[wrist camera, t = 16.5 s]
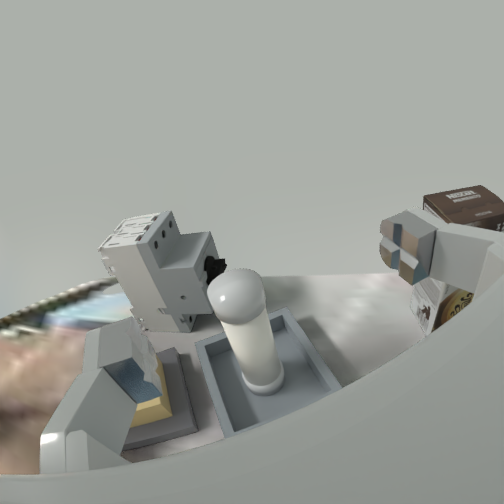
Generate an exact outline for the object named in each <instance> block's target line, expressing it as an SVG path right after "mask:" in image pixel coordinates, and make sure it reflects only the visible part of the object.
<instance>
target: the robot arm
mask: <svg viewBox="0 0 504 504" xmlns="http://www.w3.org/2000/svg"><path fill="white" fill-rule="evenodd" d="M380 233H381V234H382V235H383V238H382V240H381V242H380V254H381V257H382V259H383V261H384V262H385V264H386V265H387V266H389V267H390V268H392V269H396V270H398V272H399V276H401V277H402V278H403V279H404V280H406V281H407V282H408V283H409V284H410V285H414V284H416V283H418V282H419V281H421V280H423V279H425V278H427V277H428V276H429V278H432V279H435V280H438V281H441V282H444V283H446V284H449V285H452V286H455V287H457V288H460V289H463V290H466V291H468V292H471V293H474V297H473V299H472V302H471V303H470V304H469V305H467V306H466V307H465V308H464V309H462V310H461V311H460V312H459V313H457V314H456V315H455V316H454V317H452V318H451V319H450V320H448V321H447V322H446V323H444V324H443V325H442V326H440V327H439V328H438V329H436V330H435V331H433V332H432V333H431V334H429V335H428V336H426V337H425V338H424V339H422V340H421V341H419V342H418V343H416V344H415V345H413V346H412V347H410V348H409V349H407V350H406V351H404V352H403V353H401V354H400V355H398V356H397V357H395V358H393V359H392V360H390V361H389V362H387V363H385V364H384V365H382V366H381V367H379V368H377V369H376V370H374V371H372V372H370V373H369V374H367V375H365V376H364V377H362V378H360V379H358V380H356V381H355V382H353V383H351V384H349V385H347V386H345V387H344V388H342V389H340V390H338V391H336V392H334V393H332V394H330V395H328V396H326V397H324V398H322V399H320V400H318V401H316V402H314V403H312V404H310V405H308V406H306V407H303V408H301V409H299V410H297V411H295V412H292V413H290V414H288V415H286V416H283V417H281V418H279V419H276V420H274V421H271V422H269V423H266V424H264V425H261V426H259V427H256V428H254V429H251V430H248V431H246V432H243V433H240V434H237V435H235V436H232V437H229V438H226V439H223V440H220V441H217V442H214V443H211V444H208V445H204V446H201V447H198V448H194V449H191V450H187V451H184V452H180V453H176V454H172V455H168V456H164V457H160V458H156V459H151V460H147V461H142V462H137V463H131V462H129V461H127V460H126V459H124V458H123V457H121V456H120V454H121V451H122V448H123V445H124V442H125V439H126V437H127V434H128V431H129V428H130V425H131V423H132V420H133V417H134V414H135V412H136V409H137V406H138V405H137V404H139V403H142V402H145V401H148V400H151V399H154V398H157V397H160V396H163V393H162V387H161V381H160V377H159V376H158V374H157V373H156V372H155V370H156V369H157V367H158V363H157V358H156V355H155V352H154V349H153V347H152V345H151V343H150V341H149V339H148V338H147V336H144V335H142V334H141V331H140V325H139V324H138V322H137V321H136V319H135V318H133V317H129V318H126V319H123V320H120V321H117V322H114V323H111V324H108V325H105V326H102V327H99V328H97V329H94V330H91V331H88V332H87V334H86V338H85V347H84V357H83V369H82V374H79V375H78V376H77V377H76V379H75V380H74V382H73V383H72V385H71V386H70V388H69V390H68V391H67V393H66V394H65V396H64V398H63V399H62V401H61V402H60V404H59V406H58V407H57V409H56V410H55V412H54V414H53V415H52V417H51V419H50V420H49V422H48V424H47V425H46V427H45V429H44V430H43V432H42V434H41V438H40V474H23V475H21V474H0V504H504V233H503V232H498V231H493V230H488V229H483V228H477V227H472V226H466V225H461V224H455V223H449V224H447V223H446V222H444V221H442V220H440V219H439V218H437V217H435V216H433V215H432V214H430V213H428V212H426V211H424V210H422V209H421V208H419V207H412V208H410V209H407V210H405V211H403V212H402V213H399V214H397V215H395V216H392V217H390V218H387V219H385V220H383V221H382V223H381V225H380Z"/></svg>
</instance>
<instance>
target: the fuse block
mask: <svg viewBox="0 0 504 504" xmlns="http://www.w3.org/2000/svg"><path fill="white" fill-rule="evenodd" d="M155 355H156V358H157V363H158V367H157V369H156V370H155V372H156V373H157V374H158V376H159V377H160V381H161V387H162V393H163V396H160V397H157V398H154V399H151V400H148V401H145V402H142V403H139V404H137V405H138V406H137V409H136V412H135V414H134V417H133V420H132V423H131V425H130V428H129V431H128V434H127V437H126V439H125V442H124V445H123V448H122V451H125V450H129V449H134V448H139V447H143V446H147V445H151V444H155V443H159V442H163V441H167V440H170V439H174V438H177V437H181V436H184V435H188V434H191V433H194V432H197V431H198V428H197V425H196V421H195V418H194V414H193V410H192V407H191V403H190V399H189V395H188V391H187V387H186V383H185V379H184V375H183V371H182V367H181V363H180V358H179V354H178V352H177V351H176V349H175V348H174V347H173V348H170V349H168V350H165V351H162V352H159V353H156V354H155Z"/></svg>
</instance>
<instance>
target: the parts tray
mask: <svg viewBox="0 0 504 504" xmlns="http://www.w3.org/2000/svg"><path fill="white" fill-rule="evenodd" d="M268 317H269V321H270V325H271V329H272V333H273V337H274V341H275V345H276V349H277V353H278V357H279V359H280V361H281V362H282V365H283V369H284V373H285V383H284V385H283V387H282V388H281V389H280V390H279V391H278V392H277V393H275V394H273V395H270V396H257V395H255V394H253V393H251V392H250V391H249V389H248V388H247V386H246V384H245V381H244V379H243V377H242V370H241V368H240V365H239V363H238V361H237V359H236V356H235V354H234V352H233V349H232V347H231V345H230V342H229V340H228V338H227V335H226V333H225V332H222V333H220V334H217V335H215V336H212V337H209V338H207V339H204V340H201V341H199V342H196V343H195V346H196V349H197V353H198V356H199V360H200V363H201V366H202V370H203V373H204V376H205V379H206V383H207V386H208V389H209V392H210V395H211V398H212V402H213V405H214V408H215V411H216V414H217V417H218V419H219V422H220V425H221V428H222V431H223V434H224V437H225V439H226V438H229V437H232V436H235V435H237V434H240V433H243V432H246V431H248V430H251V429H254V428H256V427H259V426H261V425H264V424H266V423H269V422H271V421H274V420H276V419H279V418H281V417H283V416H286V415H288V414H290V413H292V412H295V411H297V410H299V409H301V408H303V407H306V406H308V405H310V404H312V403H314V402H316V401H318V400H320V399H322V398H324V397H326V396H328V395H330V394H332V393H334V392H336V391H338V390H340V389H342V386H341V385H340V384H339V382H338V381H337V379H336V378H335V376H334V375H333V373H332V372H331V370H330V369H329V368H328V366H327V365H326V363H325V362H324V360H323V359H322V357H321V356H320V355H319V353H318V352H317V350H316V349H315V347H314V346H313V344H312V343H311V341H310V340H309V339H308V337H307V336H306V334H305V333H304V331H303V330H302V328H301V327H300V325H299V324H298V323H297V321H296V320H295V318H294V317H293V315H292V314H291V312H290V311H289V309H288V308H287V306H286V307H284V308H282V309H279V310H277V311H274V312H272V313H270V314H268Z"/></svg>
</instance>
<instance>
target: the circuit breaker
mask: <svg viewBox="0 0 504 504" xmlns="http://www.w3.org/2000/svg"><path fill="white" fill-rule="evenodd" d="M113 232H114V234H111V235H109V236H108V238H107V239H106V240H105V241H104V242H103V243H102V244H101V246H100V247H99V248H98V251H101V254H102V256H103V258H102V262H103V264H104V266H105V267H106V269H107V271H108V273H109V275H110V276H111V275H115V276H116V278H117V280H118V282H119V283H120V285H121V287H122V289H123V290H124V292H125V294H126V296H127V297H128V299H129V301H130V302H131V304H132V306H131V308H130V311H131V312H132V314H133V316H134V317H135V319H136V320H137V322H138V324H141V325H142V327H143V328H142V330H143V331H146V329H149V330H150V331H157V332H186V333H190V332H191V330H192V327H193V324H194V322H195V319H196V316H197V314H212V312H213V308H212V305H211V303H210V301H209V298H208V295H207V289H208V287H209V285H210V283H211V282H212V281H213V280H214V279H215V278H216V277H217V276H219V275H220V274H222V273H224V270H225V269H226V266H227V264H225V259H219V256H218V253H217V250H216V247H215V243H214V240H213V237H212V235H211V232H210V231H209V232H200V233H191V234H183V235H181V234H180V232H179V230H178V227H177V224H176V221H175V219H174V216H173V213H172V211H166V212H161V213H155V214H149V215H143V216H138V217H132V218H130V219H127V220H126V219H124V220H123V221H122V222H121V223H120V224H119V225H118V226H117V227H116V229H115V230H114V231H113ZM112 266H113V269H112V270H111V269H110V267H112ZM139 318H143V321H142V320H140V319H139Z"/></svg>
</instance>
